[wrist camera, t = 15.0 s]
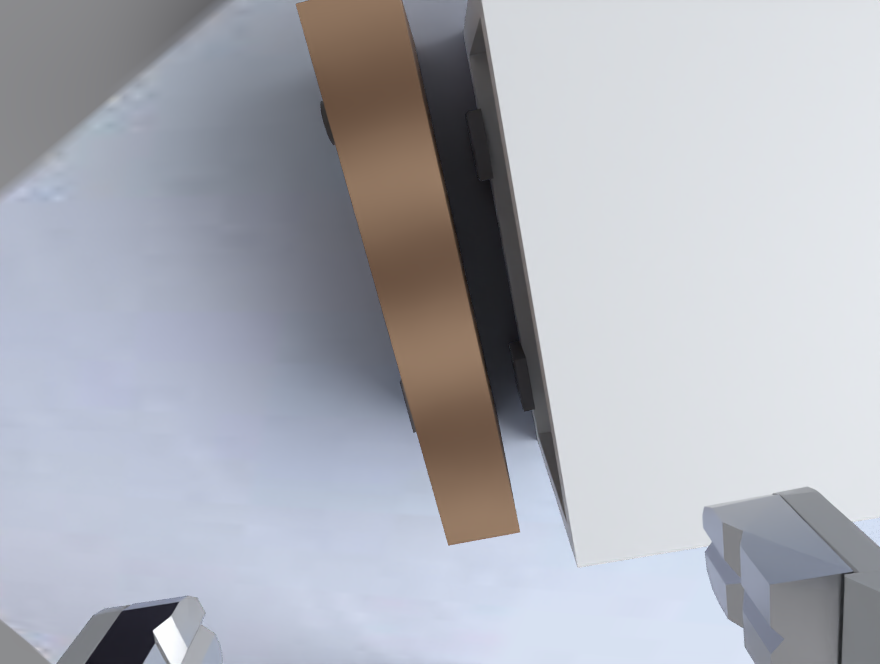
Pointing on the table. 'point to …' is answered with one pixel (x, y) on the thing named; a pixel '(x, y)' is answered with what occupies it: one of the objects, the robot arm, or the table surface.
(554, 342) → the cabinet
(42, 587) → the table surface
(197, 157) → the table surface
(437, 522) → the table surface
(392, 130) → the door
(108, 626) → the robot arm
